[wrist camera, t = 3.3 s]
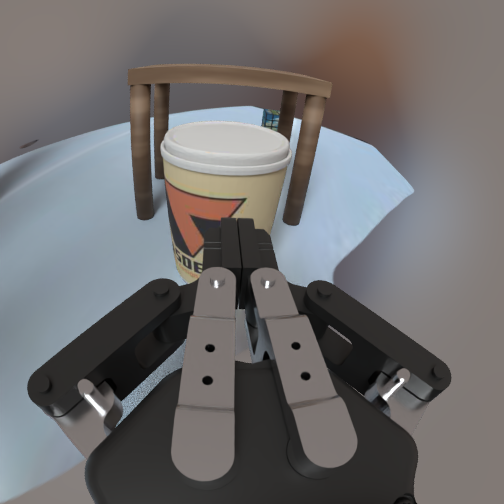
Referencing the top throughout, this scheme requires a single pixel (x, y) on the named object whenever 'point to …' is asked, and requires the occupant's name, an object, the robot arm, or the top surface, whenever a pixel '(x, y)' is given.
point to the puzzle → (270, 119)
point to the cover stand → (222, 74)
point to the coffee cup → (219, 182)
